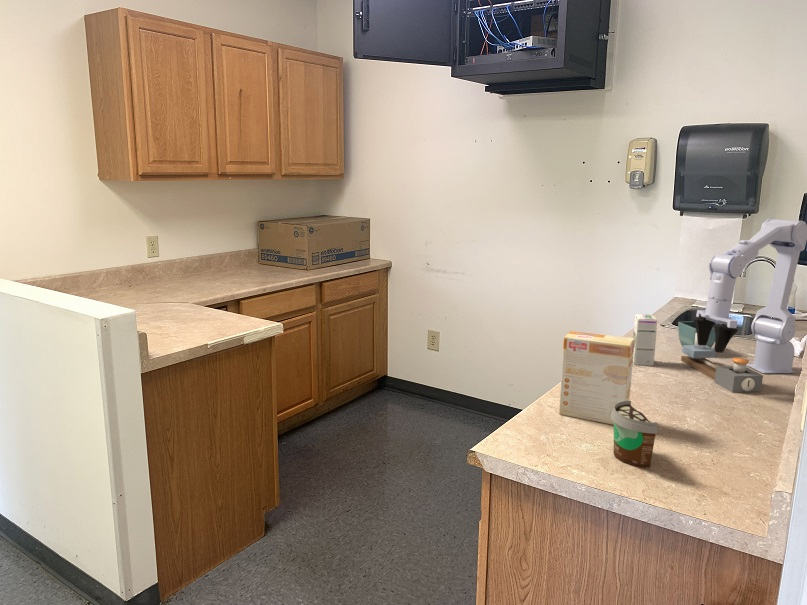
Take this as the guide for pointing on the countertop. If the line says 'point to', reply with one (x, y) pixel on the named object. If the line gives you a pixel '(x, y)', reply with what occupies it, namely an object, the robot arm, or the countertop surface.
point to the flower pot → (692, 334)
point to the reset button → (739, 365)
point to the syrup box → (644, 339)
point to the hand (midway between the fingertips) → (710, 348)
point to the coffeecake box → (595, 375)
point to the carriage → (698, 350)
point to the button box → (738, 379)
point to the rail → (701, 365)
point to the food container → (633, 435)
